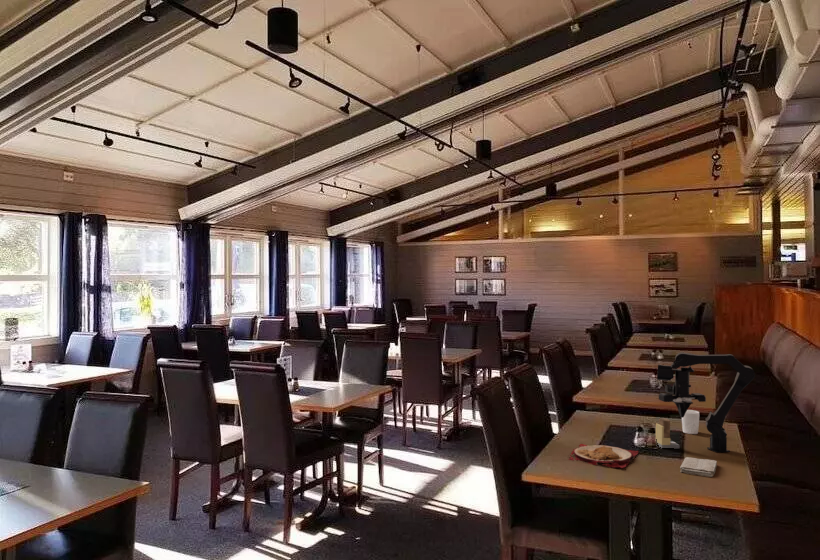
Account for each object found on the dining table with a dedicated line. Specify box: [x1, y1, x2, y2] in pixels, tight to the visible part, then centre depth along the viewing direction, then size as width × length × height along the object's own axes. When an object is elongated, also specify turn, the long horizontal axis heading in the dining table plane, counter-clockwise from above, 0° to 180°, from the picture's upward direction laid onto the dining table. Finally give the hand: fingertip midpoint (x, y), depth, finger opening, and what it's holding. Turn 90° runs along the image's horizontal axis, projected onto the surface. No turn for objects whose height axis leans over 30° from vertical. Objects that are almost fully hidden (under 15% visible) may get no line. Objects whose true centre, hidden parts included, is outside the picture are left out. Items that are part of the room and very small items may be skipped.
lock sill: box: [655, 422, 680, 449], centre depth 272 cm, size 8×6×10 cm
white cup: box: [681, 409, 700, 435], centre depth 298 cm, size 8×8×10 cm
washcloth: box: [679, 456, 718, 478], centre depth 241 cm, size 12×18×3 cm, turn 151°
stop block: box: [658, 417, 671, 439], centre depth 272 cm, size 3×4×10 cm
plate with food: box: [567, 443, 639, 469], centre depth 257 cm, size 25×26×4 cm
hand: (681, 417), depth 272 cm, fingers closed
